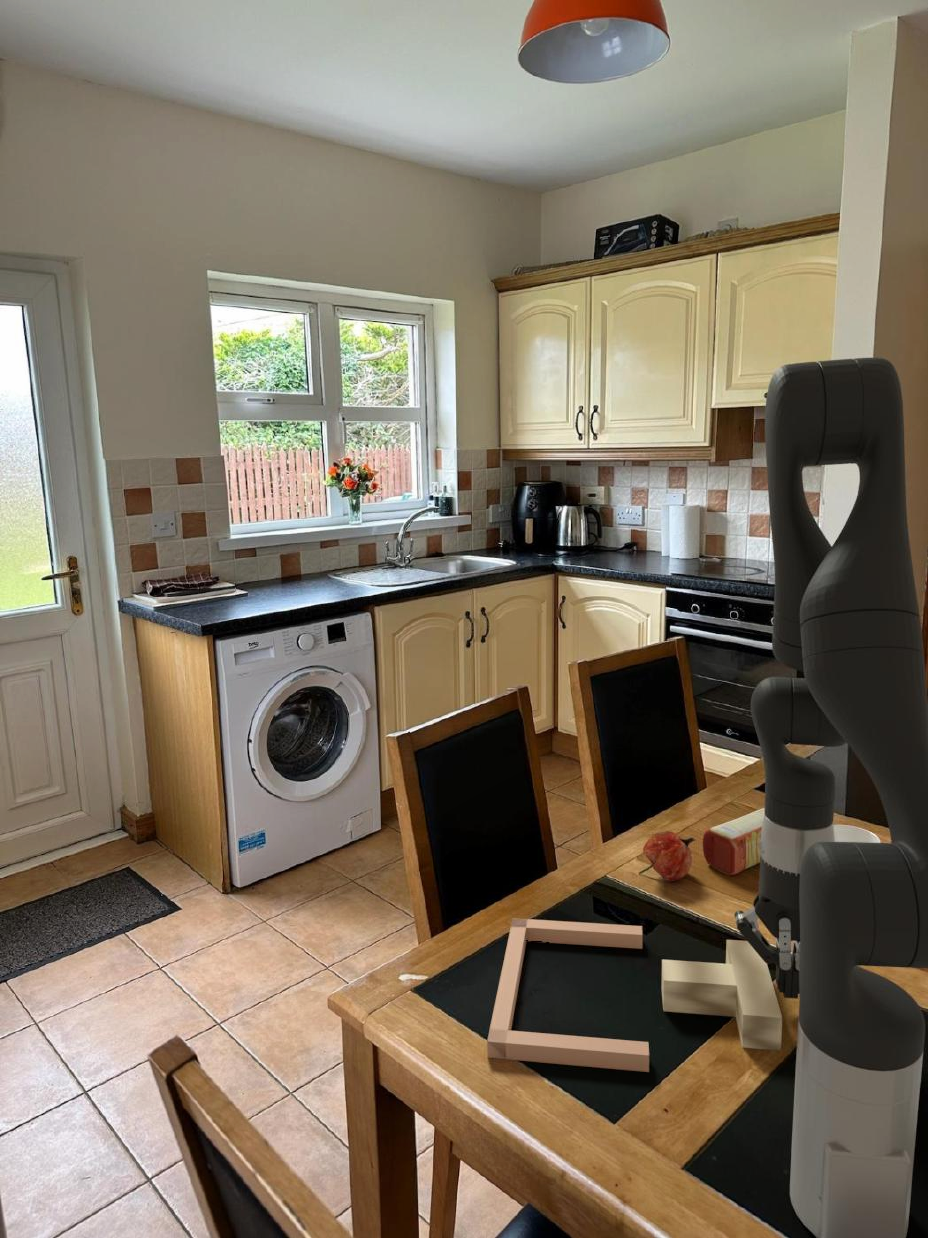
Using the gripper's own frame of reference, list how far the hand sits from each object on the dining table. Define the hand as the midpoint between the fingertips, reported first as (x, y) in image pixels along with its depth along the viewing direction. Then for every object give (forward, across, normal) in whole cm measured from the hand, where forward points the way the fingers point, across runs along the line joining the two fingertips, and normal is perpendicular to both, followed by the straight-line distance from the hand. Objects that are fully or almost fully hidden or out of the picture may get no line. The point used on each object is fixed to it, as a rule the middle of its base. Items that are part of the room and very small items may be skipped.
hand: (789, 994), depth 98 cm
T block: (+2, -8, 0) cm, 8 cm away
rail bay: (+2, -24, 0) cm, 24 cm away
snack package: (+2, +3, +39) cm, 39 cm away
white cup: (+2, +12, +24) cm, 27 cm away
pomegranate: (+2, -12, +29) cm, 32 cm away
